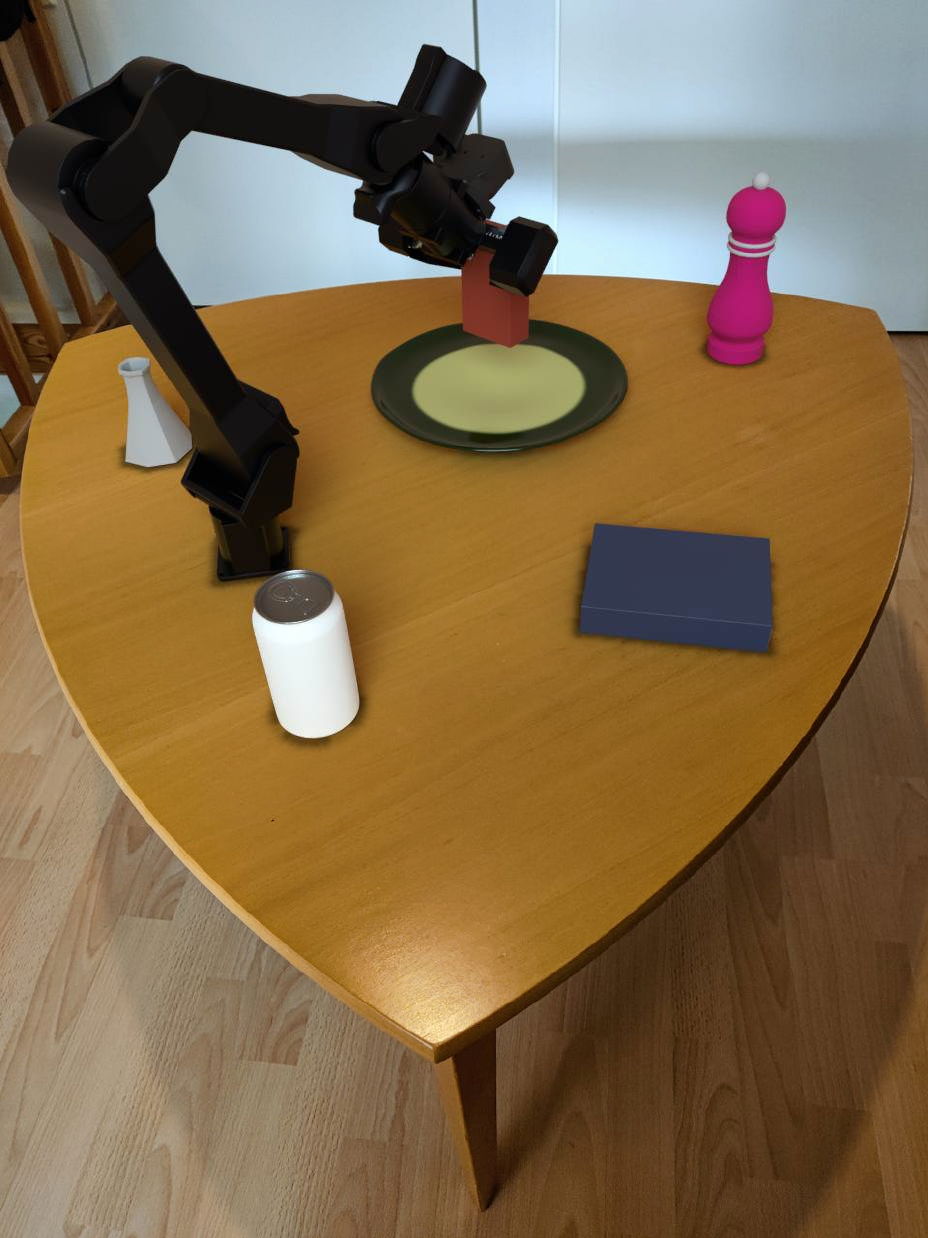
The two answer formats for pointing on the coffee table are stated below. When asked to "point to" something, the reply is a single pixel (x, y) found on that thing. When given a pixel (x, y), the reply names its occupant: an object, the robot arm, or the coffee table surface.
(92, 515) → the coffee table surface
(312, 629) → the can
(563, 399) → the plate
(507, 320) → the red rectangular block
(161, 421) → the flask
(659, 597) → the navy hardcover
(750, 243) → the pepper mill
